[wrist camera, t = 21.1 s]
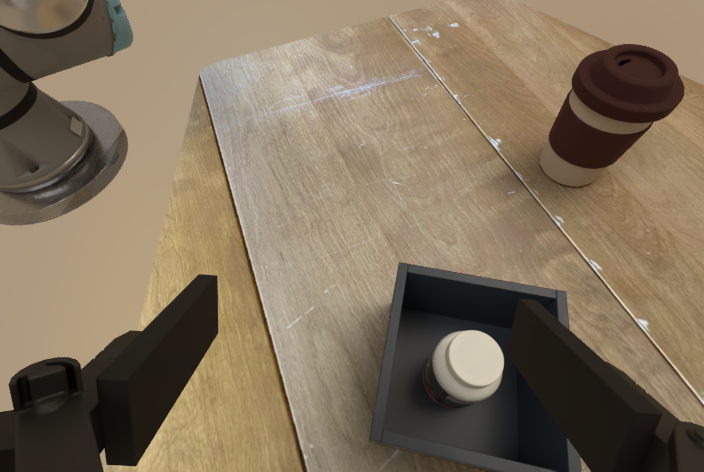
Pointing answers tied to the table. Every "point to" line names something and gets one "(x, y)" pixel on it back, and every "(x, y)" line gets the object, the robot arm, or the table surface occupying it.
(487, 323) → the waste bin
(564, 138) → the coffee cup
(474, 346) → the pill bottle
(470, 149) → the table surface
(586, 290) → the table surface
